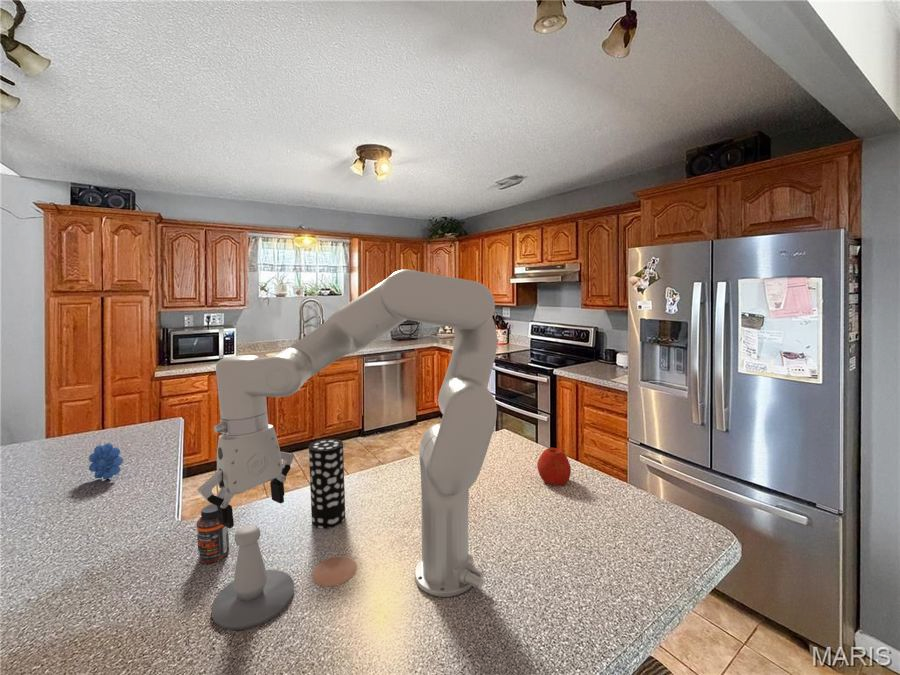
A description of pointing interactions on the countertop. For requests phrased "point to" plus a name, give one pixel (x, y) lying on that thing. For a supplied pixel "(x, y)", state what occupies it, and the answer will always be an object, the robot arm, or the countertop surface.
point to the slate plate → (253, 603)
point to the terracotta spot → (334, 571)
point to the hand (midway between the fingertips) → (254, 512)
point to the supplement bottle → (211, 536)
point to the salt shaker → (249, 564)
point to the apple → (554, 467)
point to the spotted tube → (327, 483)
